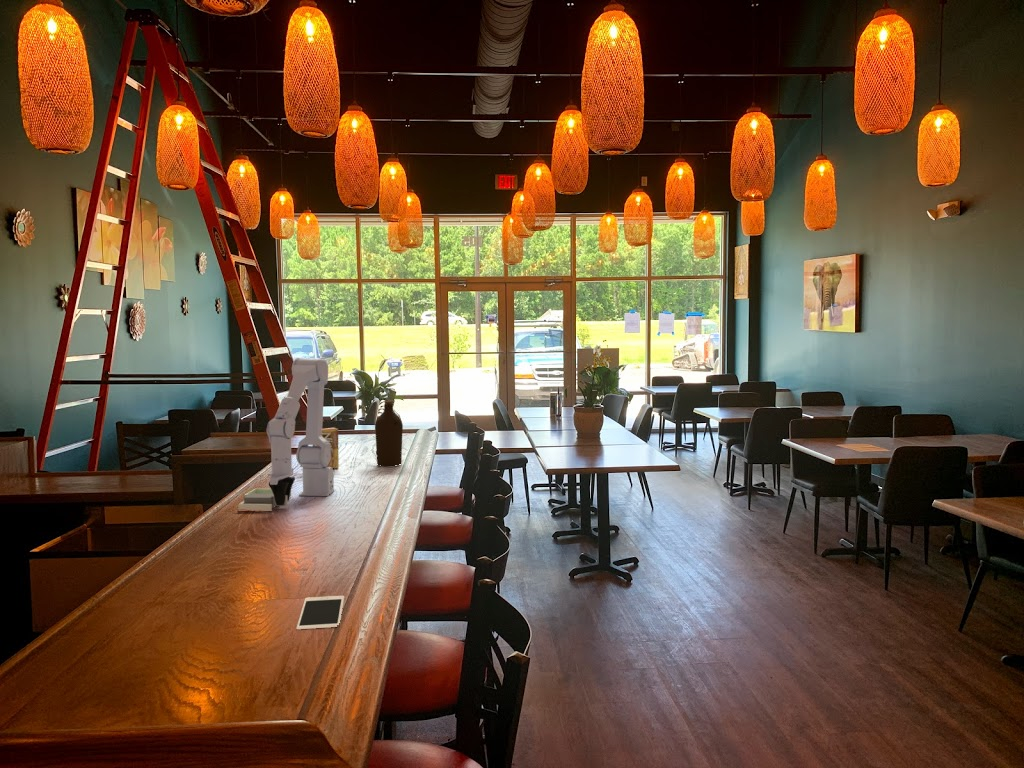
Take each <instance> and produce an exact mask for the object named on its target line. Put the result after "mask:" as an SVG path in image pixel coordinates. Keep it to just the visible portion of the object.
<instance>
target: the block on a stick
mask: <svg viewBox="0 0 1024 768" xmlns="http://www.w3.org/2000/svg"><path fill="white" fill-rule="evenodd" d="M243 501H244V504H272V508H273V507H274V506H276V507H287V506H288V505H289V504H288V502H289V501H288V499H287V495H285V503H284V505H276V502H275V498H274V494H249V495H247V496H245V497H244V496H243ZM273 509H274V508H273Z"/></svg>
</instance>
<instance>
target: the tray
mask: <svg viewBox="0 0 1024 768" xmlns="http://www.w3.org/2000/svg"><path fill="white" fill-rule="evenodd" d="M249 494H273V492H272V490H271V488H253V489H252V490H250V491H248V492H246V493H245V494H243V498H244V497H245V496H247V495H249ZM290 496H291V497H292V491H291V492H290Z"/></svg>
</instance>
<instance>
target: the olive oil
mask: <svg viewBox="0 0 1024 768" xmlns="http://www.w3.org/2000/svg"><path fill="white" fill-rule="evenodd" d="M393 403H394V401H393V400H384V404H383V408H384V410H383V412H382V413H380V415H379V416H378V417H377V419H376V421H375V424H374V432H375V433H374V434H375V447H376V449H375V455H376V465H377V464H378V465H381V466H395V465H399V464H401V465H402V461H403V460H402V458H403V457H402V455H403V454H402V452H403V450H402V449H403V426H404V425H403V421H402V418H400V417H399V415H398V414H397V413H396V412H395V411H394V404H393ZM378 465H377V466H378ZM381 466H380V467H381ZM395 467H396V466H395Z"/></svg>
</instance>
